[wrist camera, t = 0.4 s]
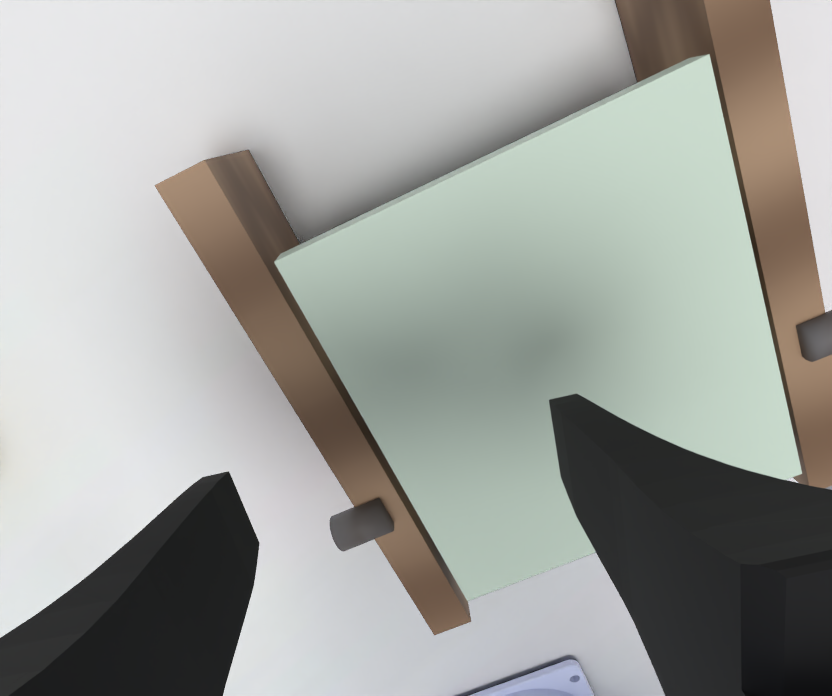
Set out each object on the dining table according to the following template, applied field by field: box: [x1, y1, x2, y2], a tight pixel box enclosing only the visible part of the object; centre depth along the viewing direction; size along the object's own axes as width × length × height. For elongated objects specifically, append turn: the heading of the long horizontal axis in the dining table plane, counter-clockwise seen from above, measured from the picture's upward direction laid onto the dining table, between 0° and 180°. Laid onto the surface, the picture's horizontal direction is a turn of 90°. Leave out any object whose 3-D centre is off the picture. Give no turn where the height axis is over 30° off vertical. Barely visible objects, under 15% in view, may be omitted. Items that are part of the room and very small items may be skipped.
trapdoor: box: [274, 54, 802, 601], centre depth 19 cm, size 14×12×4 cm
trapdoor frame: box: [155, 0, 832, 635], centre depth 19 cm, size 18×18×6 cm
